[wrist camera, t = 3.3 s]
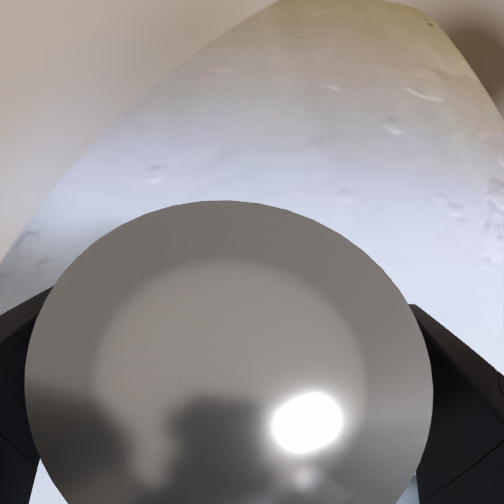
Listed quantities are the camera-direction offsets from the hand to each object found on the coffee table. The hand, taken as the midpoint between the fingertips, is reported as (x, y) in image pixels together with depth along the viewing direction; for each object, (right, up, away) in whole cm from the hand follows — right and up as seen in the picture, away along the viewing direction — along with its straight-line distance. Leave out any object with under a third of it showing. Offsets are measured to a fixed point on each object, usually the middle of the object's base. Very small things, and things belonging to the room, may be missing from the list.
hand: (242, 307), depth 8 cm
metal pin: (0, -3, +6) cm, 7 cm away
